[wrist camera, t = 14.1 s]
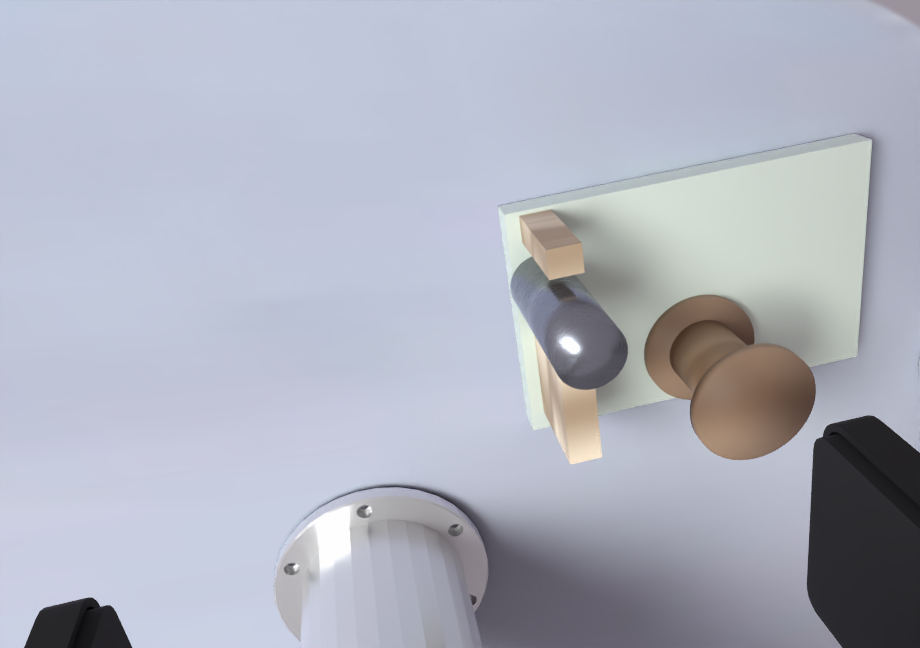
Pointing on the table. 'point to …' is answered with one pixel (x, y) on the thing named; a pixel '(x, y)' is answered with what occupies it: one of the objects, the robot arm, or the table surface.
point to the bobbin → (729, 377)
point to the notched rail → (561, 403)
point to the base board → (715, 254)
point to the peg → (569, 327)
